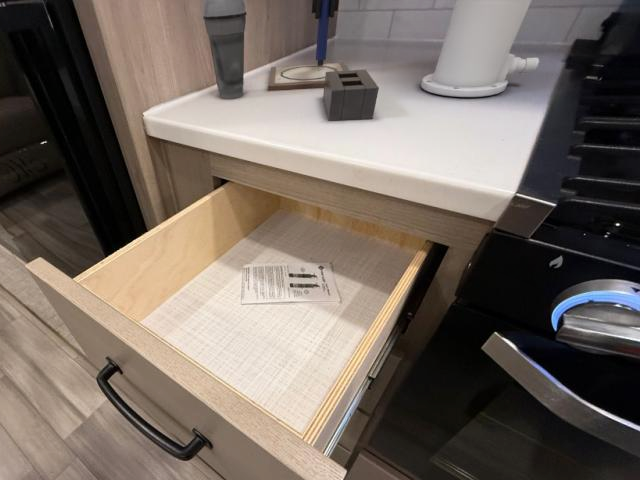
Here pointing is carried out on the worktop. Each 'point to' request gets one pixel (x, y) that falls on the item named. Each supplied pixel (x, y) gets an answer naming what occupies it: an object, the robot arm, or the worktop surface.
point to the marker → (322, 31)
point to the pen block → (349, 95)
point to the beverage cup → (227, 44)
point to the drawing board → (301, 76)
